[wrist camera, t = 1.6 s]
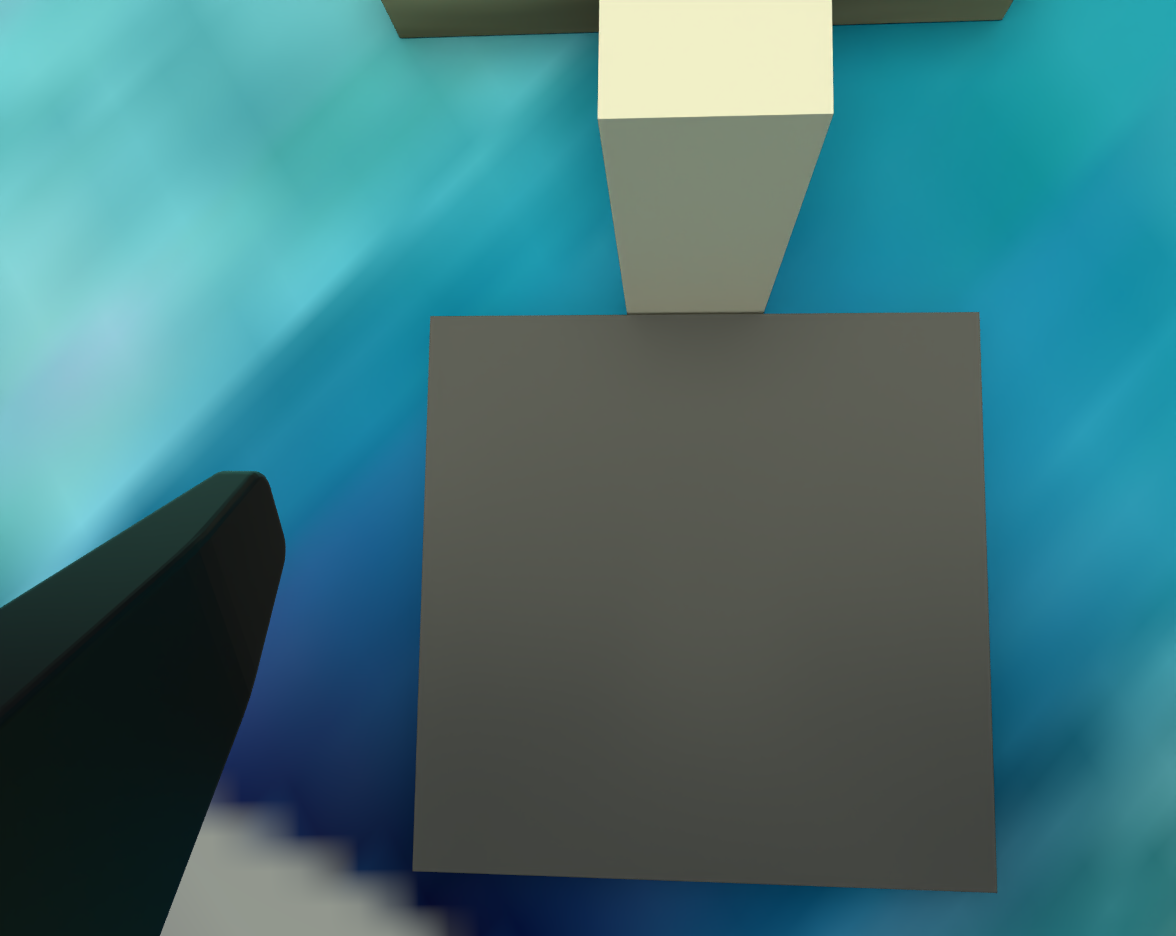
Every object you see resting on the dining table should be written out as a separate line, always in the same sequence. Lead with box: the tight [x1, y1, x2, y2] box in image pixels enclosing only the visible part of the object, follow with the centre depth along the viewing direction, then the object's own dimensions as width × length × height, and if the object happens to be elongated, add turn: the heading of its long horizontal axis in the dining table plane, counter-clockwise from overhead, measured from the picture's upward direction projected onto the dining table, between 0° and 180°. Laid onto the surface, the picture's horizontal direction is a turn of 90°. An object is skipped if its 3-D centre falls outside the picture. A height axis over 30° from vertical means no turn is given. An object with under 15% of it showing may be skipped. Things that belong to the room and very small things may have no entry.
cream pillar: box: [598, 0, 833, 315], centre depth 18 cm, size 6×3×10 cm, turn 179°
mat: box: [413, 312, 997, 893], centre depth 22 cm, size 12×12×1 cm
